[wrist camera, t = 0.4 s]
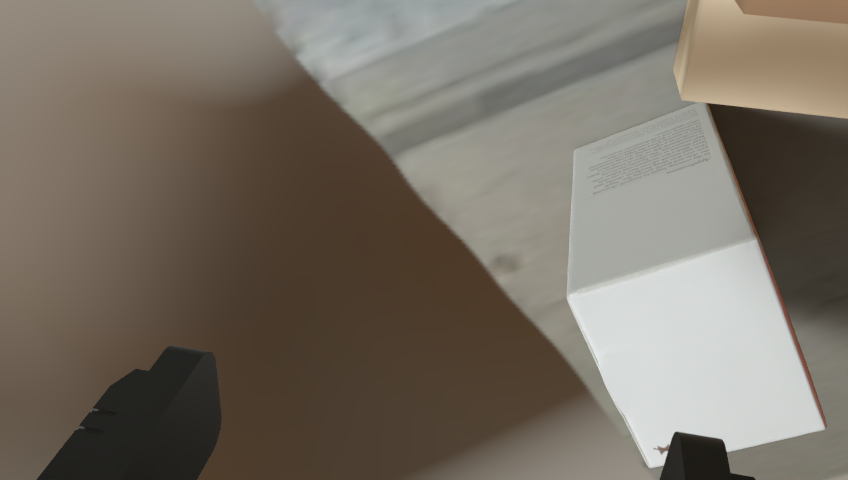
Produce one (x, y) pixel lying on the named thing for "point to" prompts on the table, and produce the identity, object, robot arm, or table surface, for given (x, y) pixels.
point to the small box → (682, 291)
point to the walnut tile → (798, 9)
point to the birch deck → (762, 60)
